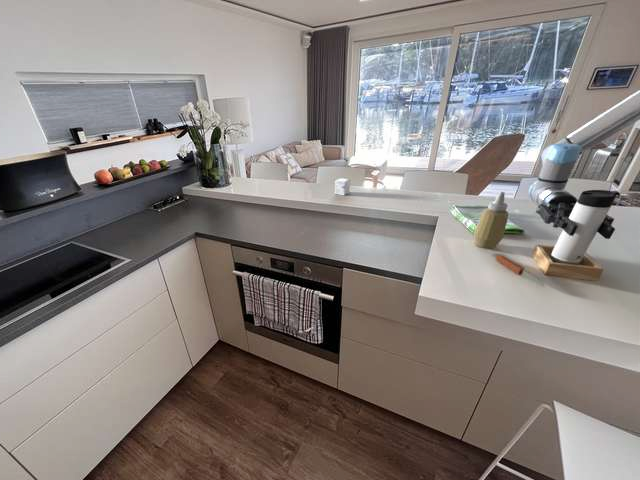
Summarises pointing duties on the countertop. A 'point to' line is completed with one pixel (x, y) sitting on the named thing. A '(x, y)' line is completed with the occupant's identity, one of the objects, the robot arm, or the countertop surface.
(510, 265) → the kitchen knife
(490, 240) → the squeeze bottle
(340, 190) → the product carton
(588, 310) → the countertop surface
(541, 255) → the wooden tray
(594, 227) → the travel mug
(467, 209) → the dish towel
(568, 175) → the robot arm
